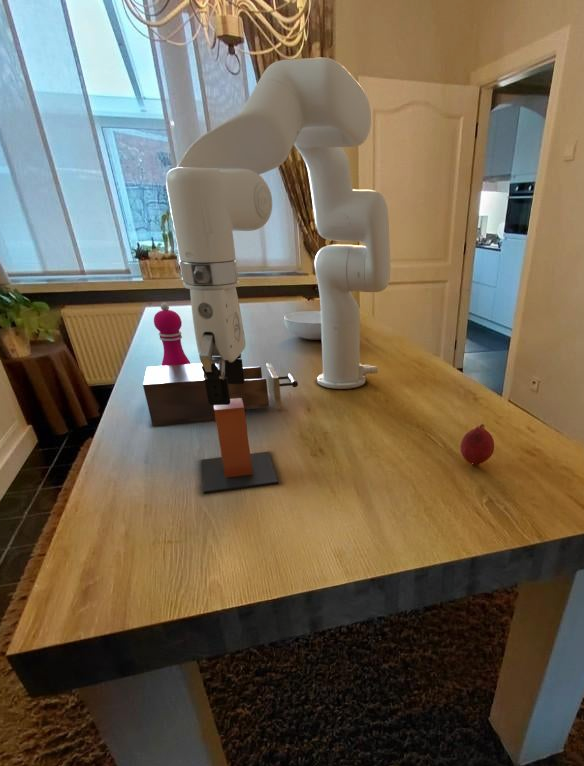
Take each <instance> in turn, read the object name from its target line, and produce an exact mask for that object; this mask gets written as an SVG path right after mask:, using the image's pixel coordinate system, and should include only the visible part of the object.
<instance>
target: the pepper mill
mask: <svg viewBox="0 0 584 766" xmlns="http://www.w3.org/2000/svg"><path fill="white" fill-rule="evenodd" d="M182 323H183V322H182V319H181V317H180V315H179V314H178V313H177V312H176V311H174V310H172V309H171V310H170V305H169V304H168V303H167V302H162V303H161V304H160V310H159V311H157V312H156V313H155V314H154V317H153V324H154V327H155V329H156V330H158V336H159V340H160V341H161V342H162V343H161V344H162V347H163V358H162V362H161V366H169V365H183V364H192V363H191V361H190V360H189V358H188V356H187V355H186V354H185V351H184V349H183V346H182V339H183V336H182V332H181V330H180V329H182V326H183V325H182Z"/></svg>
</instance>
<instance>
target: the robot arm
mask: <svg viewBox="0 0 584 766" xmlns="http://www.w3.org/2000/svg"><path fill="white" fill-rule="evenodd" d="M369 101H370V100H369V99H368V97H367V93H366V92H365V90H364V89H363V87H362V86H361V85H360V84H359V82H358V81H357V80H356V78H355V77H354V76H353V75H352V74H351V73H350V72H349V70H347V68H346V67H345V66H344V65H342V64H341V63H340V62H338V61H337V60H335V59H333V58H330V57H308V58H307V57H305V58H304V57H303V58H288V59H280V60H277V61H273V63H271V64H270V65H269V66H267V67H266V69H264V71H263V73H262V75H261V77H259V80H258V81H257V83H256V85H255V86H254V89H253V91H252V92H251V93H250V96H249V97H248V99H247V101H246V102H245V104H244V105H243V107H242V108H241V110H240V112H239V113H237V114H234V115H233V116H232V117H230V118H228V119H226V120H224V121H223V122H222V123H220V124H219V125H217V126H216V127H214V128H212V129H210V130H209V131H208V132H206V133H204V134H202V135H201V136H200V137H198V139H196V140H195V141H194V142H193V143H191V144H190V146H189V147H188V148H187V150H186V151H185V153H184V154H183V156H182V157H181V159H180V160H179V162H178V164H177V166H176V167H174V168H170V169H169V170H168V171H167V172H166V177H165V184H166V192H167V197H168V202H169V209H170V214H171V219H172V225H173V230H174V231H173V232H174V236H175V243H176V248H177V254H178V260H179V265H180V271H181V277H182V281H183V287H184V288H185V289H187V290H188V289H189V295H190V306H191V315H192V322H193V330H194V336H195V342H196V347H197V352H198V356H199V360H200V363H202V370H203V377H204V379H205V385H206V391H207V397H208V402H209V404H210V405H229V404H230V402H231V401H230V394H229V387H228V384H243V383H244V382H245V380H244V372H243V367H244V366H243V359H242V353H243V351H244V350H245V348H246V343H247V342H246V336H245V329H244V325H243V323H244V322H243V318H242V313H241V307H240V302H239V296H238V292H237V288H238V287H239V286H240V283H239V282H240V281H239V275H238V268H237V267H238V266H237V259H236V258H237V257H236V249H235V242H234V241H235V240H234V232H235V231H236V232H252V231H253V232H254V231H257V230H259V229H261V228H262V227H264V226H265V225H266V224H267V223H268V221H269V219H270V218H271V214H272V211H273V198H272V197H273V196H272V192H271V189H270V187H269V185H268V183H267V182H266V181H265V179H264V178H263V177H262V176H261V175H262V174H265V173H267V172H269V171H272V170H274V169H276V168H278V167H280V166H282V165H283V164H284V162H285V161H286V160H287V159H288V157H289V155H290V153H291V151H292V149H293V147H295V148H296V150H297V151H298V152H299V154H300V156H301V157H302V160H303V161H304V164H305V166H306V169H307V174H308V180H309V187H310V193H311V201H312V210H313V216H314V217H313V218H314V222H315V228H316V230H317V233H318V234H319V236H320V237H321V238H323V239H324V240H327V241H334V242H335V241H336V242H358V243H359V242H360V243H363V244H364V245H355V244H329V245H326V246H323V247H321V248H320V249H319V250H318V251H317V253H316V255H315V258H314V272H315V277H316V282H317V287H318V288H317V289H318V292H319V293H318V295H319V304H320V305H319V306H320V311H321V333H322V340H321V357H322V373H320V374H319V375H318V376H317V378H316V380H317V381H316V382H317V384H318V385H320V386H321V387H324V388H328V389H334V390H348V389H349V390H350V389H354V388H359V387H362V386H363V385H365V383H366V381H367V379H366V378H367V377H366V376H367V375H369V374H370V375H375V374H378V372H379V369H378V365H373V366H372V365H370V364H364V365H363V364H362V363H361V362H360V361H361V359H360V357H361V355H360V354H361V352H360V351H361V336H360V335H361V312H360V307H359V304H358V302H357V300H356V298H355V296H354V295H353V294H352V292H357V293H358V292H360V293H380V292H383V291H384V290H386V289H387V288H388V285H389V283H390V278H391V248H390V247H391V245H390V220H389V219H390V218H389V209H388V205H387V201H386V198H385V197H384V195H383V194H382V193H381V192H379V191H377V190H374V189H373V190H372V189H355V188H353V185H352V179H351V178H352V177H351V168H350V160H349V158H348V154H347V153H346V151H345V149H344V148H355V147H359V146H361V145H363V144H364V143H365V142H366V140H367V139H368V136H369V134H370V132H371V131H370V130H371V128H372V127H371V126H372V112H371V106H370V102H369ZM233 231H234V232H233ZM216 364H217V366H216ZM217 367H218V368H217Z"/></svg>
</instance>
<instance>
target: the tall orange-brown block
mask: <svg viewBox="0 0 584 766" xmlns="http://www.w3.org/2000/svg"><path fill="white" fill-rule="evenodd" d="M230 401H231V402H230V404H229V405H214V412H215V419H216V420H215V424H216V430H217V436H218V442H219V449H220V454H221V456H220V457H222V462H223V468H224V474H225V478H229V477H236V476H244V475H252V474H253V472H252V464H251V457H250V454H251V450H250V441H249V433H248V426H247V425H248V424H247V419H246V409H244V405H243V401H242V398H236V399H230Z"/></svg>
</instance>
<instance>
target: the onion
mask: <svg viewBox="0 0 584 766" xmlns="http://www.w3.org/2000/svg"><path fill="white" fill-rule="evenodd" d="M485 427H486V425H485V424H484V423H482V422H481V423H478V424H477V425H476V427H475V428H473V429H471V430H469V431H468V432H466V433H465V434H464V436H463V437H462V440H461V443H460V453H461V455H462V457H463V459H464V460H465V461H466V462H467V463H468V464H470V465H472V466H474V467H476V466H477V467H478V466H479V465H481V464H483V463H485V462H487V461H488V460H489V459H490V458H491V457H492V456H493V455H494V452H495V451H494V450H495V441H494V438H493V436H492V434H491V433H490V432H489V431H487V430H486V429H485ZM472 463H473V464H472ZM480 463H481V464H480Z"/></svg>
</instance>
